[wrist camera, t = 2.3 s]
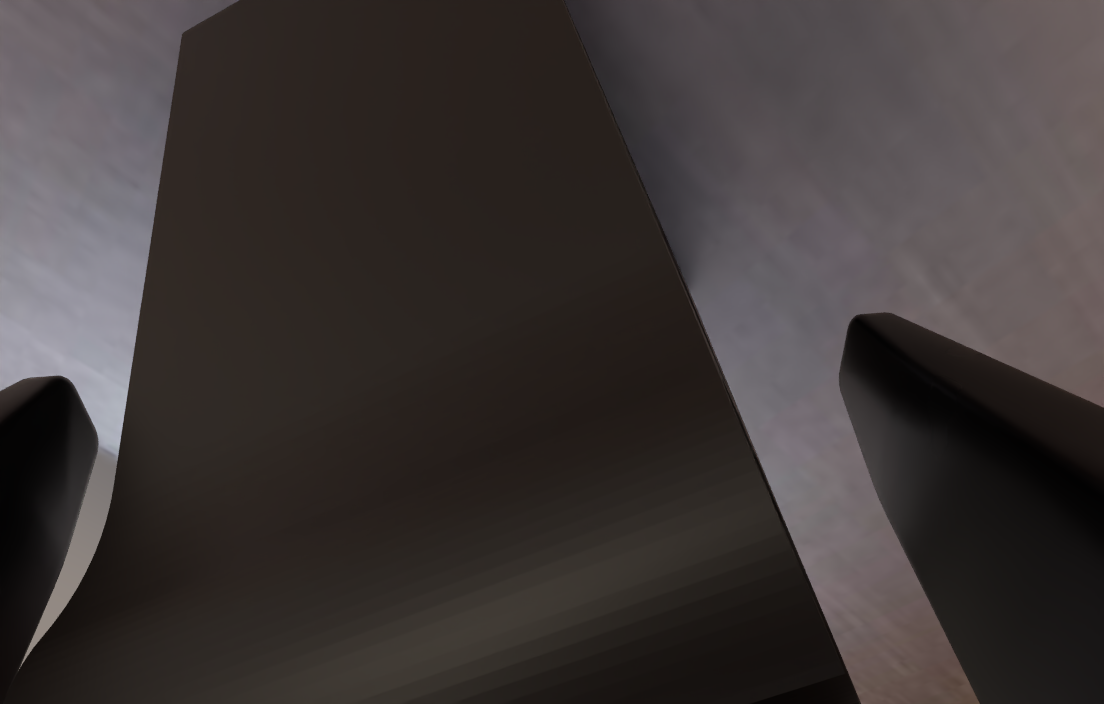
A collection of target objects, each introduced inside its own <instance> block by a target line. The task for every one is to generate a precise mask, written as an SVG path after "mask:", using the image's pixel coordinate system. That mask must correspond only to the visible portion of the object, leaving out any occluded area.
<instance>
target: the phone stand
mask: <svg viewBox="0 0 1104 704" xmlns="http://www.w3.org/2000/svg"><path fill="white" fill-rule="evenodd" d="M3 704H861V703H860V700H859V698H858V695H857V693H856V690H855V688H854V686H853V683H852V681H851V678H850V676H849V674H848V671H847V669H846V666H845V664H844V662H843V659H842V657H841V654H840V652H839V650H838V647H837V645H836V643H835V640H834V638H833V635H832V633H831V631H830V628H829V626H828V623H827V621H826V619H825V616H824V614H823V612H822V609H821V607H820V604H819V602H818V600H817V597H816V595H815V593H814V590H813V588H812V585H811V583H810V581H809V578H808V576H807V574H806V571H805V569H804V566H803V564H802V562H801V559H800V557H799V555H798V552H797V550H796V547H795V545H794V543H793V540H792V538H791V536H790V533H789V531H788V528H787V526H786V524H785V521H784V519H783V516H782V514H781V512H780V509H779V507H778V504H777V502H776V500H775V497H774V495H773V492H772V490H771V488H770V485H769V483H768V480H767V478H766V475H765V473H764V471H763V468H762V466H761V463H760V461H759V459H758V456H757V454H756V451H755V449H754V446H753V444H752V442H751V439H750V437H749V434H748V432H747V429H746V427H745V425H744V422H743V420H742V417H741V415H740V412H739V410H738V408H737V405H736V403H735V400H734V398H733V395H732V393H731V391H730V388H729V386H728V383H727V381H726V379H725V376H724V374H723V371H722V369H721V366H720V364H719V362H718V359H717V357H716V354H715V352H714V349H713V347H712V345H711V342H710V340H709V337H708V335H707V332H706V330H705V328H704V325H703V323H702V320H701V318H700V315H699V313H698V311H697V308H696V306H695V303H694V301H693V299H692V296H691V294H690V292H689V289H688V287H687V285H686V282H685V280H684V278H683V275H682V273H681V271H680V268H679V266H678V264H677V261H676V259H675V257H674V254H673V252H672V250H671V247H670V245H669V243H668V240H667V238H666V236H665V234H664V231H663V229H662V227H661V224H660V222H659V220H658V217H657V215H656V213H655V210H654V208H653V206H652V203H651V201H650V199H649V196H648V194H647V192H646V189H645V187H644V185H643V182H642V180H641V178H640V175H639V173H638V171H637V169H636V166H635V164H634V162H633V159H632V157H631V155H630V152H629V150H628V148H627V145H626V143H625V141H624V138H623V136H622V134H621V131H620V129H619V127H618V124H617V122H616V120H615V117H614V115H613V113H612V111H611V108H610V106H609V104H608V101H607V99H606V97H605V94H604V92H603V90H602V87H601V85H600V83H599V80H598V78H597V76H596V73H595V71H594V69H593V66H592V64H591V62H590V59H589V57H588V55H587V52H586V50H585V48H584V45H583V43H582V41H581V39H580V36H579V34H578V32H577V29H576V27H575V25H574V22H573V20H572V18H571V15H570V13H569V11H568V8H567V6H566V4H565V1H564V0H239V1H238V2H236V3H234V4H232V5H231V6H229V7H227V8H226V9H224V10H222V11H220V12H219V13H217V14H215V15H213V16H212V17H210V18H208V19H206V20H205V21H203V22H201V23H199V24H198V25H196V26H194V27H192V28H191V29H189V30H187V31H185V32H184V33H183V34H182V39H181V46H180V52H179V59H178V65H177V72H176V79H175V85H174V92H173V99H172V105H171V112H170V118H169V125H168V132H167V138H166V145H165V151H164V158H163V165H162V171H161V178H160V184H159V191H158V198H157V204H156V211H155V217H154V224H153V231H152V237H151V244H150V250H149V257H148V264H147V270H146V277H145V283H144V290H143V297H142V303H141V310H140V316H139V323H138V330H137V336H136V343H135V349H134V356H133V363H132V369H131V376H130V382H129V389H128V396H127V402H126V409H125V415H124V422H123V429H122V435H121V442H120V449H119V455H118V462H117V468H116V475H115V482H114V488H113V493H112V500H111V504H110V508H109V512H108V516H107V520H106V523H105V526H104V529H103V533H102V536H101V539H100V541H99V544H98V546H97V549H96V552H95V554H94V556H93V559H92V561H91V563H90V565H89V567H88V569H87V571H86V573H85V575H84V577H83V579H82V581H81V582H80V584H79V586H78V588H77V590H76V591H75V593H74V594H73V596H72V598H71V599H70V601H69V603H68V604H67V606H66V607H65V608H64V610H63V611H62V613H61V614H60V615H59V617H58V618H57V619H56V621H55V622H54V623H53V625H52V626H51V627H50V628H49V630H48V631H47V632H46V633H45V635H44V636H43V637H42V638H41V639H40V641H39V642H38V643H37V644H36V646H35V647H34V648H33V649H32V651H31V652H30V654H29V655H28V656H27V658H26V660H25V661H24V663H23V664H22V666H21V667H20V669H19V671H18V673H17V675H16V676H15V678H14V680H13V682H12V684H11V686H10V688H9V691H8V693H7V695H6V698H5V700H4V703H3Z"/></svg>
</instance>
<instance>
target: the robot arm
mask: <svg viewBox="0 0 1104 704" xmlns="http://www.w3.org/2000/svg"><path fill="white" fill-rule="evenodd" d="M839 386H840V391H841V395H842V397H843V400H844V403H845V406H846V409H847V412H848V414H849V417H850V420H851V423H852V426H853V429H854V431H855V434H856V437H857V440H858V443H859V446H860V448H861V451H862V454H863V457H864V460H865V463H866V465H867V468H868V471H869V474H870V477H871V480H872V482H873V485H874V487H875V490H876V493H877V495H878V498H879V500H880V502H881V504H882V507H883V509H884V511H885V513H886V515H887V517H888V519H889V521H890V523H891V525H892V527H893V529H894V531H895V533H896V535H897V537H898V539H899V541H900V543H901V545H902V547H903V549H904V552H905V554H906V556H907V558H908V560H909V562H910V564H911V566H912V568H913V570H914V572H915V574H916V576H917V578H918V580H919V582H920V584H921V586H922V588H923V590H924V592H925V594H926V596H927V598H928V600H929V602H930V604H931V606H932V608H933V610H934V612H935V614H936V616H937V618H938V620H939V622H940V624H941V626H942V628H943V630H944V632H945V634H946V636H947V638H948V640H949V642H950V644H951V646H952V648H953V650H954V652H955V654H956V656H957V658H958V660H959V662H960V664H961V666H962V668H963V670H964V672H965V674H966V676H967V678H968V680H969V682H970V684H971V686H972V688H973V690H974V692H975V694H976V696H977V699H978V701H979V703H980V704H1104V408H1103V407H1101V406H1099V405H1096V404H1094V403H1092V402H1090V401H1087V400H1085V399H1083V398H1081V397H1078V396H1076V395H1074V394H1072V393H1069V392H1067V391H1065V390H1063V389H1061V388H1058V387H1056V386H1054V385H1052V384H1049V383H1047V382H1045V381H1043V380H1040V379H1038V378H1036V377H1034V376H1031V375H1029V374H1027V373H1025V372H1022V371H1020V370H1018V369H1016V368H1013V367H1011V366H1009V365H1007V364H1004V363H1002V362H1000V361H998V360H995V359H993V358H991V357H989V356H986V355H984V354H982V353H980V352H977V351H975V350H973V349H971V348H968V347H966V346H964V345H962V344H960V343H957V342H955V341H953V340H951V339H948V338H946V337H944V336H942V335H939V334H937V333H935V332H933V331H930V330H928V329H926V328H924V327H921V326H919V325H917V324H915V323H912V322H910V321H908V320H906V319H903V318H901V317H899V316H897V315H894V314H892V313H886V312H883V313H871V314H860V315H856V316H855V317H854V318H853V319H852V320H851V322H850V324H849V326H848V330H847V335H846V340H845V346H844V351H843V356H842V361H841V366H840V372H839ZM97 452H98V436H97V432H96V429H95V427H94V425H93V423H92V421H91V419H90V417H89V415H88V413H87V411H86V408H85V406H84V404H83V402H82V400H81V398H80V396H79V394H78V392H77V390H76V388H75V386H74V385H73V383H72V382H71V381H70V380H69V379H67V378H65V377H63V376H46V377H32V378H27V379H23V380H21V381H19V382H17V383H15V384H13V385H11V386H9V387H7V388H6V389H4V390H2V391H0V704H3V703H4V700H5V698H6V695H7V693H8V691H9V688H10V686H11V684H12V682H13V680H14V678H15V676H16V675H17V673H18V670H19V668H20V666H21V663H22V661H23V659H24V656H25V654H26V652H27V649H28V647H29V645H30V642H31V640H32V638H33V635H34V633H35V631H36V629H37V626H38V624H39V622H40V619H41V617H42V615H43V612H44V610H45V607H46V605H47V603H48V601H49V598H50V596H51V594H52V591H53V589H54V587H55V584H56V582H57V579H58V577H59V574H60V571H61V569H62V566H63V564H64V561H65V558H66V555H67V552H68V549H69V545H70V542H71V539H72V536H73V532H74V529H75V526H76V522H77V519H78V515H79V512H80V509H81V506H82V502H83V499H84V496H85V492H86V489H87V486H88V483H89V479H90V475H91V473H92V469H93V466H94V463H95V459H96V456H97Z"/></svg>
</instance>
